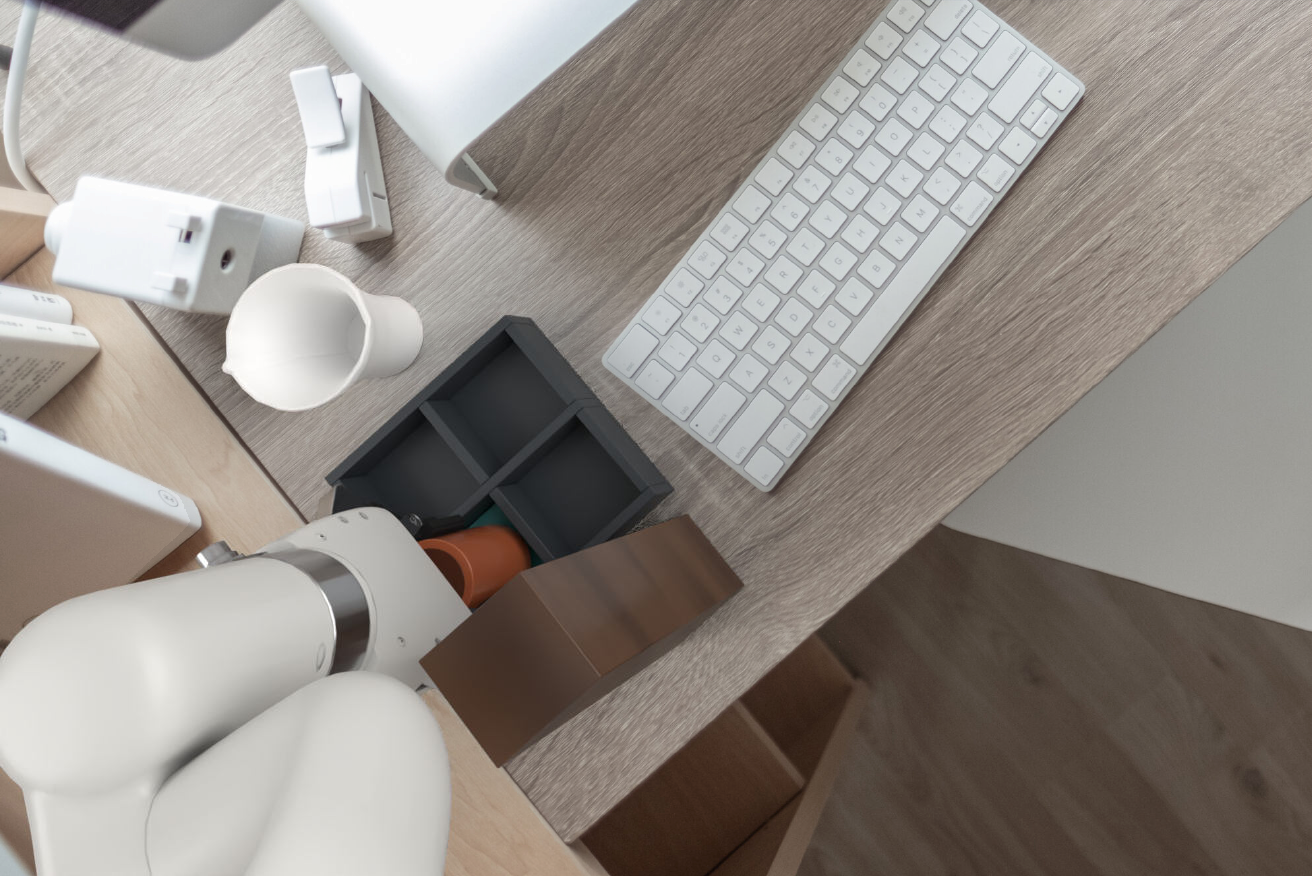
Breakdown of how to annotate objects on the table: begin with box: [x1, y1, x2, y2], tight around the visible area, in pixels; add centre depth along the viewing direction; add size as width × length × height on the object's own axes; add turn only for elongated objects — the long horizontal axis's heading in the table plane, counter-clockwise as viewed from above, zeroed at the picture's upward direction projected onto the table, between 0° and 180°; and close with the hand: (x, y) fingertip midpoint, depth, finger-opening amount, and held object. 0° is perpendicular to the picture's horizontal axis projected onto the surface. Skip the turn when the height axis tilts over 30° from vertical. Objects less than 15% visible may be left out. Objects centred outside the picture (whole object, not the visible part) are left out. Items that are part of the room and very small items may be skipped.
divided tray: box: [324, 314, 675, 568], centre depth 76 cm, size 15×15×4 cm
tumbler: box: [417, 524, 531, 608], centre depth 71 cm, size 5×5×8 cm
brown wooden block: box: [419, 513, 745, 769], centre depth 64 cm, size 6×6×24 cm
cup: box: [221, 262, 424, 413], centre depth 74 cm, size 9×9×10 cm
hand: (472, 572), depth 72 cm, fingers closed on tumbler, 5 cm apart
